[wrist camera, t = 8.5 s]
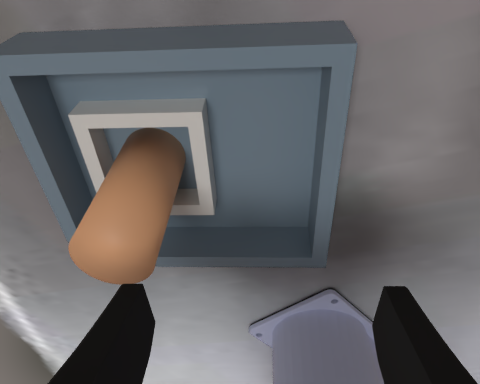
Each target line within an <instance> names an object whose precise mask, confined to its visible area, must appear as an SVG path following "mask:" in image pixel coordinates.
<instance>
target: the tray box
mask: <svg viewBox="0 0 480 384" xmlns="http://www.w3.org/2000/svg"><path fill="white" fill-rule="evenodd" d="M356 50H357V42H356V40H355V39H354V37H353V35H352V34H351V32H350V30H349V29H348V27H347V26H346V24H345V22H344V21H319V22H293V23H266V24H240V25H213V26H187V27H160V28H134V29H107V30H81V31H54V32H28V33H19V34H17V35H15V36H13V37H12V38H10V39H8V40H7V41H5V42H3V43H1V44H0V100H1V102H2V104H3V106H4V108H5V110H6V113H7V115H8V117H9V119H10V121H11V123H12V125H13V127H14V129H15V132H16V134H17V136H18V138H19V140H20V142H21V144H22V146H23V148H24V151H25V153H26V155H27V157H28V159H29V161H30V163H31V165H32V167H33V170H34V172H35V174H36V176H37V178H38V180H39V182H40V184H41V186H42V189H43V191H44V193H45V195H46V197H47V199H48V201H49V203H50V205H51V207H52V210H53V212H54V214H55V216H56V218H57V220H58V222H59V224H60V226H61V229H62V231H63V233H64V235H65V237H66V239H67V241H68V243H70V240H71V238H72V236H73V235H74V233H75V231H76V229H77V228H78V226H79V224H80V222H81V220H82V219H83V217H84V215H85V213H86V211H87V210H88V208H89V206H90V204H91V202H92V201H93V199H94V197H95V195H96V193H97V192H98V190H99V188H100V186H101V184H102V183H103V181H104V179H105V177H106V175H107V174H108V172H109V170H110V168H111V166H112V165H113V163H114V161H115V159H116V157H117V156H118V154H119V152H120V150H121V148H122V147H123V145H124V143H125V141H126V139H127V138H128V136H129V135H130V134H131V133H133V132H134V131H136V130H139V129H142V128H157V129H161V130H164V131H166V132H168V133H170V134H171V135H173V136H174V137H175V138H176V139H177V140H178V141H179V142H180V143H181V145H182V146H183V148H184V151H185V155H186V161H185V165H184V169H183V172H182V175H181V179H180V182H179V186H178V189H177V193H176V196H175V199H174V203H173V206H172V210H171V213H170V217H169V220H168V223H167V227H166V230H165V234H164V237H163V240H162V244H161V247H160V251H159V254H158V258H157V261H156V264H155V266H161V267H308V268H326V263H327V256H328V249H329V241H330V234H331V227H332V220H333V213H334V206H335V199H336V192H337V185H338V178H339V171H340V163H341V156H342V149H343V142H344V135H345V128H346V121H347V114H348V107H349V100H350V93H351V85H352V78H353V71H354V64H355V57H356Z"/></svg>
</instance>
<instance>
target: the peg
mask: <svg viewBox="0 0 480 384" xmlns="http://www.w3.org/2000/svg"><path fill="white" fill-rule="evenodd" d="M185 161H186V155H185V151H184V148H183V146H182V145H181V143H180V142H179V141H178V140H177V139H176V138H175V137H174V136H173V135H171V134H170V133H168V132H166V131H164V130H161V129H157V128H142V129H139V130H136V131H134V132H133V133H131V134H130V135H129V136H128V138H127V139H126V141H125V143H124V145H123V147H122V148H121V150H120V152H119V154H118V156H117V157H116V159H115V161H114V163H113V165H112V166H111V168H110V170H109V172H108V174H107V175H106V177H105V179H104V181H103V183H102V184H101V186H100V188H99V190H98V192H97V193H96V195H95V197H94V199H93V201H92V202H91V204H90V206H89V208H88V210H87V211H86V213H85V215H84V217H83V219H82V220H81V222H80V224H79V226H78V228H77V229H76V231H75V233H74V235H73V236H72V238H71V240H70V243H69V253H70V256H71V258H72V260H73V261H74V263H75V264H76V265H77V266H78V267H79V268H80V269H81V270H82V271H84V272H85V273H86V274H88V275H90V276H92V277H94V278H96V279H98V280H101V281H104V282H108V283H112V284H134V283H138V282H141V281H143V280H145V279H146V278H148V277H149V276H150V275H151V274H152V272H153V271H154V268H155V264H156V261H157V258H158V254H159V251H160V247H161V244H162V240H163V237H164V234H165V230H166V227H167V223H168V220H169V217H170V213H171V210H172V206H173V203H174V199H175V196H176V193H177V189H178V186H179V182H180V179H181V175H182V172H183V169H184V165H185Z"/></svg>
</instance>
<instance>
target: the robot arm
mask: <svg viewBox="0 0 480 384" xmlns="http://www.w3.org/2000/svg"><path fill="white" fill-rule="evenodd" d="M154 328H155V319H154V316H153V313H152V310H151V307H150V304H149V301H148V298H147V295H146V292H145V289H144V286H143V284H122V285H121V286H120V288H119V289H118V291H117V292H116V294H115V295H114V297H113V298H112V300H111V301H110V303H109V304H108V305H107V307H106V308H105V310H104V311H103V313H102V314H101V315H100V317H99V318H98V320H97V321H96V322H95V324H94V325H93V327H92V328H91V329H90V331H89V332H88V333H87V335H86V336H85V337H84V339H83V340H82V341H81V343H80V344H79V345H78V347H77V348H76V349H75V351H74V352H73V353H72V354H71V356H70V357H69V358H68V359H67V361H66V362H65V363H64V364H63V366H62V367H61V368H60V369H59V370H58V372H57V373H56V374H55V375H54V377H53V378H52V379H51V380H50V382H49V383H48V384H142V382H143V378H144V375H145V371H146V368H147V364H148V360H149V357H150V352H151V346H152V340H153V334H154ZM249 333H250V334H251V335H253V336H254V337H256V338H257V339H259V340H260V341H262V342H263V343H265V344H266V345H268V346H270V347H271V348H272V353H273V384H477V382H476V381H475V380H474V379H473V377H472V376H471V375H470V374H469V373H468V371H467V370H466V369H465V368H464V366H463V365H462V364H461V362H460V361H459V360H458V358H457V357H456V356H455V355H454V353H453V352H452V351H451V349H450V348H449V347H448V345H447V344H446V343H445V341H444V340H443V339H442V337H441V336H440V335H439V333H438V332H437V330H436V329H435V328H434V326H433V325H432V323H431V322H430V321H429V319H428V318H427V316H426V315H425V313H424V312H423V311H422V309H421V308H420V306H419V305H418V303H417V302H416V300H415V299H414V297H413V296H412V294H411V293H410V291H409V290H408V289H407V288H406V287H405V286H384V287H383V291H382V294H381V297H380V301H379V304H378V307H377V311H376V314H375V317H374V321H373V322H371V321H370V320H369V319H368V318H367V317H366V316H364V315H363V314H362V313H361V312H360V311H358V310H357V309H356V308H355V307H354V306H353V305H351V304H350V303H349V302H348V301H347V300H345V299H344V298H343V297H342V296H341V295H340V294H338V293H337V292H336V291H334V290H331V289H330V290H326V291H323V292H321V293H319V294H317V295H315V296H313V297H311V298H308V299H306V300H304V301H302V302H300V303H298V304H296V305H293V306H291V307H289V308H287V309H285V310H283V311H281V312H278V313H276V314H274V315H272V316H270V317H268V318H266V319H263V320H261V321H259V322H257V323H255V324H253V325H251V326H249Z"/></svg>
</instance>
